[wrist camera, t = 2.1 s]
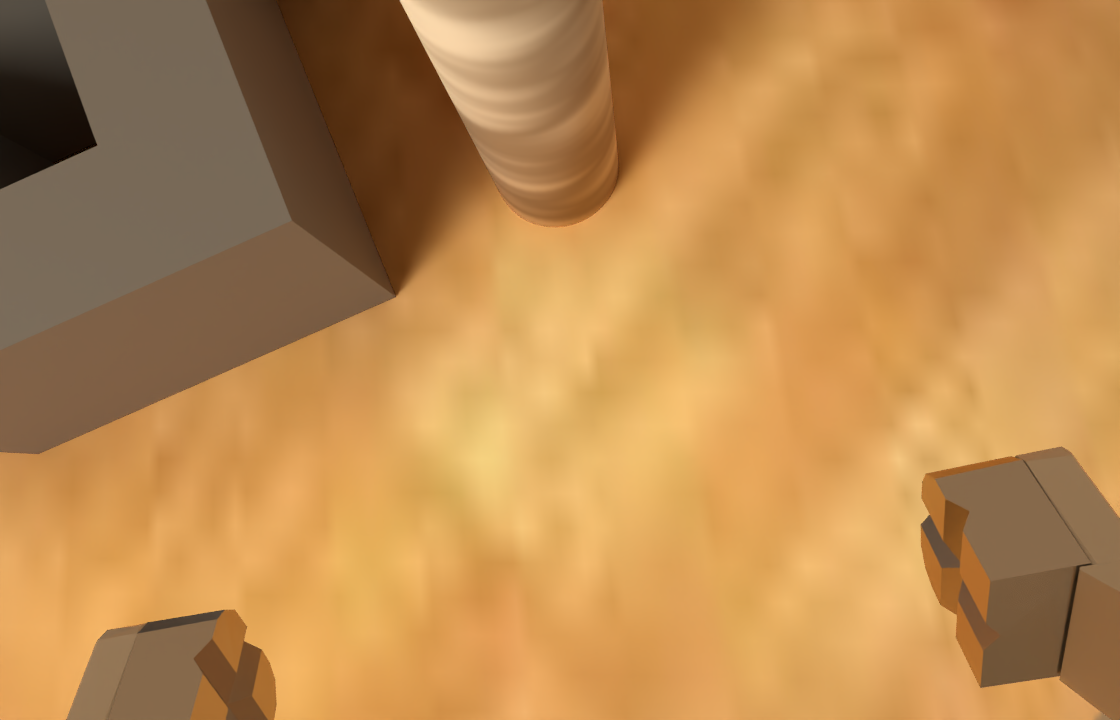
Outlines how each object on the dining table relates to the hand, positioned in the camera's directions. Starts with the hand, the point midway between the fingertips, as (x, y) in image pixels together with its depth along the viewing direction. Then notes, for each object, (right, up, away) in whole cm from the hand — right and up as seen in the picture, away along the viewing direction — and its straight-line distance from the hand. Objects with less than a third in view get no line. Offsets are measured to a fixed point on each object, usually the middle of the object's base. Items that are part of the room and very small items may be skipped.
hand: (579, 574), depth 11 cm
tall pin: (0, +9, +23) cm, 25 cm away
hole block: (-15, +8, +24) cm, 30 cm away
